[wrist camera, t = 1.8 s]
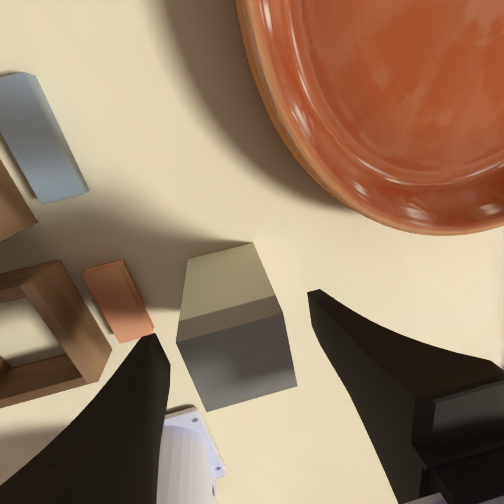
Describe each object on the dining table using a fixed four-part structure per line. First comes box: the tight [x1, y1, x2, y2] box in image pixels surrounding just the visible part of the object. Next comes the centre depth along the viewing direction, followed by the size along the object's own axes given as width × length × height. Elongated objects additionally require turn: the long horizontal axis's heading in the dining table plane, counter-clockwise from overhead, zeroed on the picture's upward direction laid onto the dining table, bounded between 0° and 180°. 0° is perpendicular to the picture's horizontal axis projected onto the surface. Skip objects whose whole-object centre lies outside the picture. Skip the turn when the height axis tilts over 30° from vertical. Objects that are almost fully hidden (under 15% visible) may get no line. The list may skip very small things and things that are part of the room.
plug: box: [176, 243, 297, 412], centre depth 14 cm, size 4×4×7 cm
